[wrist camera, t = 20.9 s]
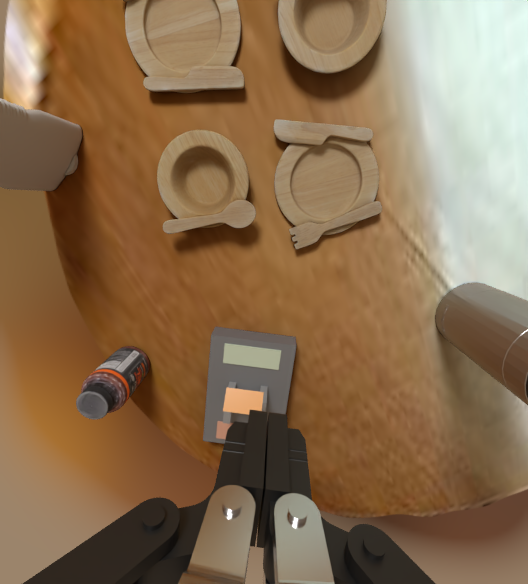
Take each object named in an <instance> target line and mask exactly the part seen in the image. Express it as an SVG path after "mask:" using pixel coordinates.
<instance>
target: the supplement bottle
mask: <svg viewBox="0 0 528 584" xmlns="http://www.w3.org/2000/svg"><path fill="white" fill-rule="evenodd" d="M149 368H150V363H149V359H148V357H147V356H146V354H145V353H144V352H143V351H142V350H140V349H138V348H136V347H130V346H127V347H122V348H120V349H118V350H117V351H116V352H115V353H114V354H112V355H111V356H110V357H109V358H108V359H107V360H106V361H105V362H104V363H103V364H102V365H100V366H99V367H98V368H97V369H96V370H95V371H94V372H92V373H91V374H90V376H88V377H87V378H86V379H85V381H84V383H83V385H82V389H81V390H82V391H81V392H82V393H81V394H80V395H79V397H78V398H77V401H76V405H77V409H78V410H79V412H80V413H81V414H82V415H83V416H85V417H87V418H89V419H100V418H103V417H104V416H105V415H106V414H107V413H111V412H114V411H116V410H118V409H119V408H120V407H122V406H123V405H124V403H125V402H126V401H127V400H128V398H129V397H130V396H131V395H132V393H133V392H134V391H135V389H136V388H137V387H138V386H139V384H140V383H141V382H142V380H143V379H144V378H145V376H146V375H147V373H148V371H149Z"/></svg>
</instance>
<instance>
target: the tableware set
mask: <svg viewBox="0 0 528 584" xmlns="http://www.w3.org/2000/svg"><path fill="white" fill-rule="evenodd" d="M123 1H127V4H126V10H125V28H126V36H127V40H128V43H129V46H130V49H131V51H132V53H133V56H134V58H135V59H136V61H137V63H138V64H139V66H140V67H141V69H142V70H143V71H144V72H145V73H146V74H147V75H148V76H149V77H146V78H145V79H144V82H143V84H144V87H145V88H146V89H147V90H149V91H151V92H166V91H175V92H180V93H193V92H198V91H202V90H224V89H243V88H244V86H245V82H244V76H243V74H242V72H241V71H240V70H239V69H238V68H236V67H233V66H231V65H232V63H233V61H234V59H235V56H236V53H237V51H238V47H239V42H240V35H241V20H240V12H239V7H238V4H237V0H123ZM386 2H387V0H279V4H278V22H279V28H280V33H281V36H282V39H283V41H284V43H285V45H286V47H287V49H288V51H289V52H290V54H291V55H292V56H293V57H294V59H295V60H296V61H297V62H298V63H300V64H301V65H302V66H304V67H306V68H307V69H310V70H312V71H315V72H318V73H327V74H329V73H337V72H341V71H343V70H346V69H348V68H350V67H352V66H354V65H355V64H357V63H358V62H359V61H360V60H362V59H363V58H364V57H365V56H366V55H367V53H368V52H369V51H370V50H371V49H372V47H373V46H374V44H375V42H376V41H377V39H378V37H379V35H380V32H381V30H382V27H383V23H384V20H385V15H386ZM274 132H275V135H276V137H277V138H278V139H279V140H280V141H283V142H287V143H291V144H290V145H289V146H288V147H287V148H286V150H285V151H284V153H283V155H282V157H281V159H280V160H279V163H278V166H277V169H276V173H275V194H276V199H277V202H278V205H279V207H280V209H281V211H282V212H283V214H284V215H285V217H286V218H287V219H288V220H289V221H290V222H291V223H292V224H293V225H295V226H296V227H294V228H291V229H289V231H290V234H291V235H294V234H295V236H294V237H292V240H293V242H295V241H297V243H296V244H294V246H295V249H300V248H303V247H306V246H308V245H311V244H313V243H315V242H317V241H318V240H319V238H320V236H321V235H331V234H336V233H340V232H342V231H345V230H347V229H349V228H350V227H352V226H354V225H355V224H356V223H357V222H359V221H360V220H363V219H366V218H369V217H372V216H375V215H377V214H379V213H381V211H382V205H381V203H380V202H378V201H375V202H374V200H375V197H376V195H377V191H378V185H379V169H378V165H377V161H376V158H375V155H374V153H373V152H372V150H371V148H370V147H369V145H368V144H367V143H366V142H368V141H370V140H371V139H372V138H373V131H372V130H371V129H369V128H362V127H352V126H341V125H331V124H320V123H309V122H299V121H288V120H275V122H274ZM157 182H158V187H159V192H160V194H161V197H162V199H163V201H164V203H165V205H166V206H167V207H168V209H169V210H170V211H171V212H172V213H173V214H174V216H176V217H177V218H178V219H174V220H168V221H166V222H164V224H163V230H164V232H166V233H168V234H172V233H177V232H181V231H186V230H190V229H194V228H198V227H200V228H211V227H217V226H220V225H222V224H224V223H225V224H228V225H229V226H231V227H234V228H244V227H246V226H248V225H250V224H251V223H252V222H253V221H254V219H255V216H256V210H255V207H254V206H253V205H252V204H251V203H250V202H248V201H246V197H247V194H248V189H249V175H248V169H247V166H246V163H245V160H244V158H243V156H242V154H241V153H240V151H239V150H238V149H237V147H236V146H235V145H234V144H233V143H232V142H231V141H230V140H228V139H227V138H226V137H224V136H222V135H220V134H218V133H216V132H213V131H209V130H192V131H189V132H186V133H183V134H181V135H179V136H177V137H176V138H175V139H174V140H172V141H171V142H170V143H169V144H168V146H167V147H166V148H165V150H164V152H163V154H162V156H161V158H160V161H159V164H158V170H157Z"/></svg>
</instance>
